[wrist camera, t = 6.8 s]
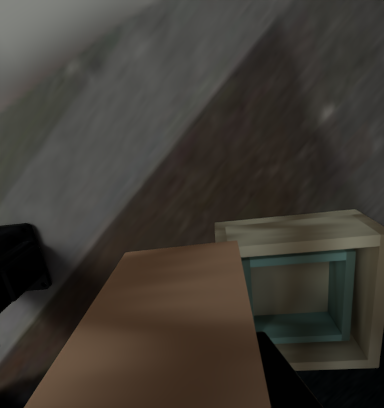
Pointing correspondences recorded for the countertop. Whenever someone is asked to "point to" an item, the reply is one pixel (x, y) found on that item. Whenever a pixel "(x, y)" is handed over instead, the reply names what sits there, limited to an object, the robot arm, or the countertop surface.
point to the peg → (163, 337)
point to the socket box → (315, 285)
